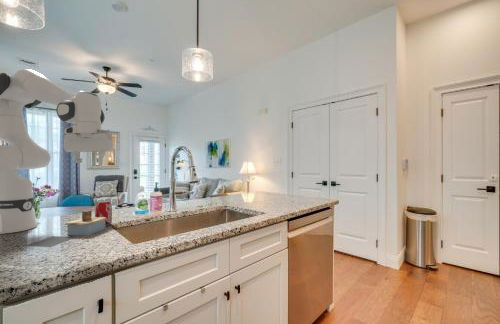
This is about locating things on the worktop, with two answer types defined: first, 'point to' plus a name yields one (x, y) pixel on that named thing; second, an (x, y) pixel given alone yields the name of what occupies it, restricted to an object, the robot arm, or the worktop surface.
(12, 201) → the robot arm
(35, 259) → the worktop surface
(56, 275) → the worktop surface
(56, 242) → the mat
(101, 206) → the soda can
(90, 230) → the dish
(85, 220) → the lid
